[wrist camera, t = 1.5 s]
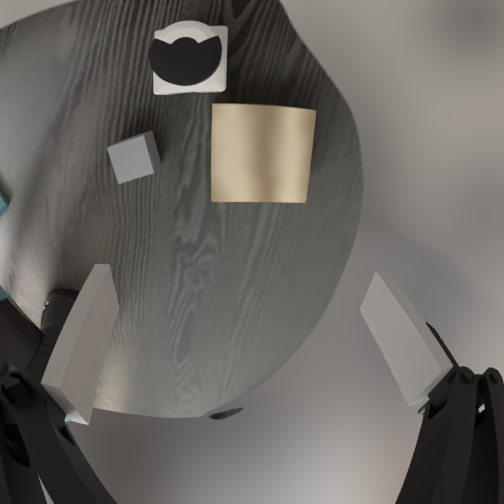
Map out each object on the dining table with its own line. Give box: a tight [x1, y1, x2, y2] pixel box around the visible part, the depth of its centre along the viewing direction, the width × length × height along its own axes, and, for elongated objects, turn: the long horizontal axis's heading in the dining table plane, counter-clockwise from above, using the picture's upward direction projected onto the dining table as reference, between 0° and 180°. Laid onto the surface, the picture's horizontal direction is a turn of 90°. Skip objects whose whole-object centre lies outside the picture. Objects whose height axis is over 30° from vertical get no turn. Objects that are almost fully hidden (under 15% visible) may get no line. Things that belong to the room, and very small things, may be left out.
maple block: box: [211, 103, 316, 203], centre depth 34 cm, size 12×12×6 cm
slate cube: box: [107, 130, 161, 184], centre depth 33 cm, size 5×5×5 cm
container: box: [149, 21, 228, 95], centre depth 24 cm, size 8×8×13 cm
